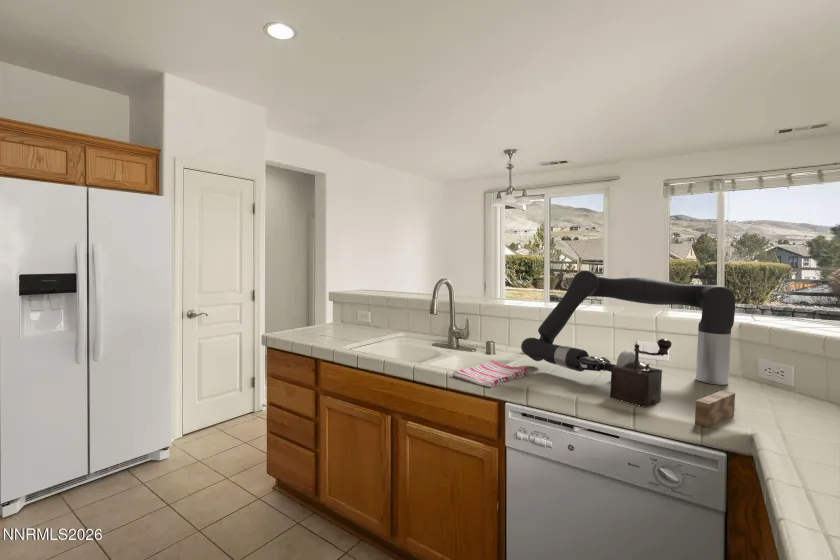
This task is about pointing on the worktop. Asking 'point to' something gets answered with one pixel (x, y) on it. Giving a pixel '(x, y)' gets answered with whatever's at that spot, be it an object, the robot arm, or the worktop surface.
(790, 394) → the worktop surface
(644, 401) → the manual coffee grinder
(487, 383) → the dish towel
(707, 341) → the robot arm
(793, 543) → the worktop surface
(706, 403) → the block
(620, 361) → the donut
